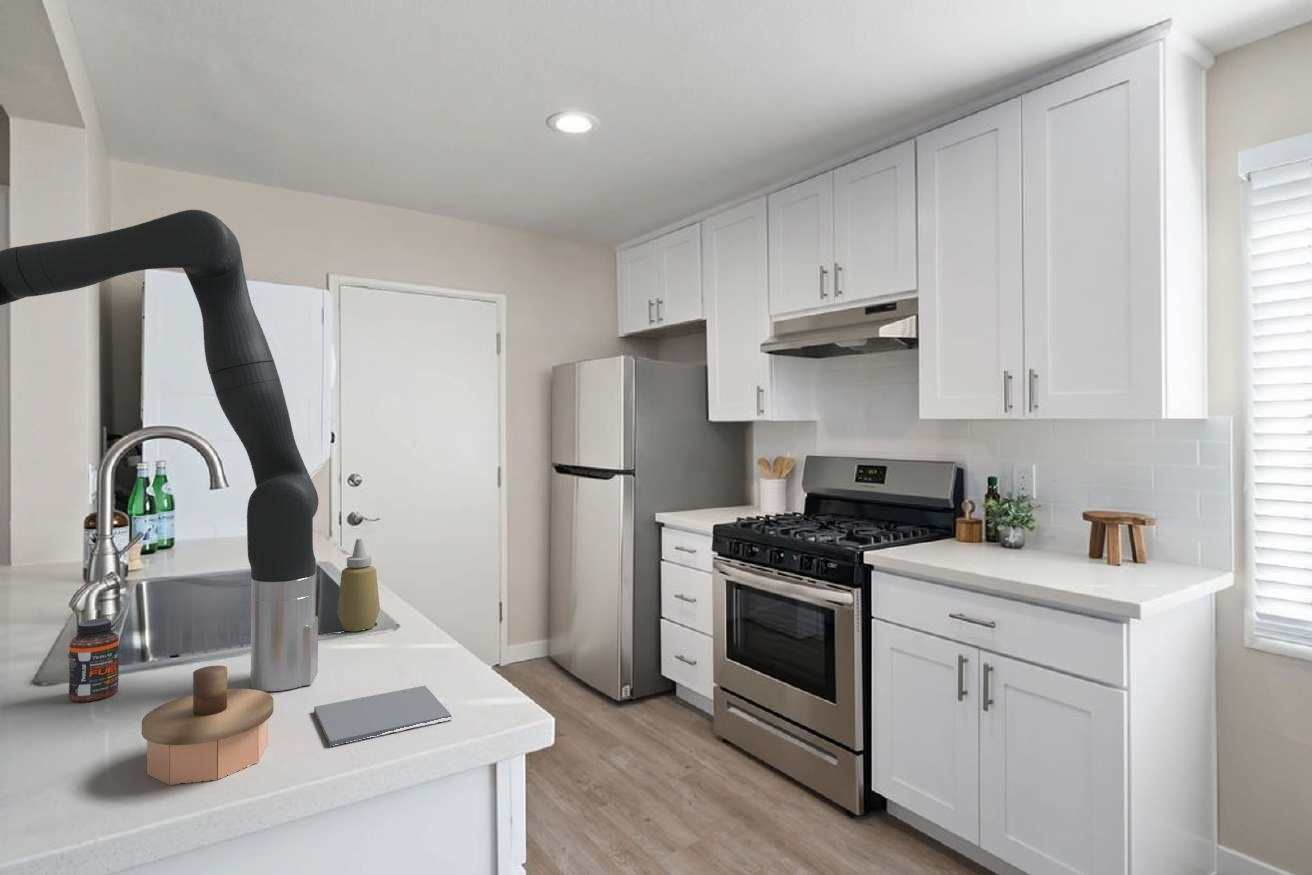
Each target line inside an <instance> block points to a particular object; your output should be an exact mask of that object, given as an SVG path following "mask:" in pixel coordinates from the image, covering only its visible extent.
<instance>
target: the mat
mask: <svg viewBox="0 0 1312 875" xmlns="http://www.w3.org/2000/svg"><path fill="white" fill-rule="evenodd" d="M313 708H314V709H313V713H314V712H315V713H314V715H315V714H316V715H315V718H318V719H317V721H319V722H318V723H320V724H319V726H320V725H321V726H320V728H321V727H322V728H321V730H322V729H323V730H322V732H323V731H324V733H323V735H324V734H325V735H324V737H325V736H326V737H325V739H326V738H327V739H326V741H327V740H328V742H327V744H328V743H329V744H328V746H329V745H330V746H333V745H335V744H342V743H346V742H350V741H354V740H359V739H363V738H367V737H370V736H377V735H380V734H382V733H385V732H388V731H394V730H396V729H400V728H404V727H409V726H413V725H416V724H420V723H427V722H430V721H434V720H438V719H441V718H448V717H451V718H452V714H451V713H450V711H448V709H447V708H446V707H445V706H444V705H443V703H441V702H440V700H439V699H438V698H437V697H436V696H435V695H434V694H433V692H431V690H430V689H429V688H428V687H427V686H426V685H420V686H414V687H410V688H406V689H405V688H404V689H400V690H393V691H388V692H385V693H379V694H372V695H369V696H363V697H358V698H353V699H348V700H342V701H338V702H332V703H331V702H330V703H326V704H321V705H317V706H313ZM330 746H329V747H330Z"/></svg>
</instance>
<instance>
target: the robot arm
mask: <svg viewBox="0 0 1312 875" xmlns="http://www.w3.org/2000/svg"><path fill="white" fill-rule="evenodd" d="M242 258H243V257H242V252H241V246H240V242H239V241H238V239H237V236H236V235H235V234H234V232H233V231H232V230H231V229H230V228H229V227H228V226H227V225H226V223H224V222H223V221H222V220H221V219H220V218H218V217H217V216H215V215H214V214H212V213H210V212H209V211H205V210H202V209H185V210H181V211H178V212H173V213H169V214H167V215H164V216H161V217H158V218H154V219H151V220H149V221H145V222H143V223H139V224H138V223H137V224H135V225H132V226H128V227H123V228H120V229H116V230H112V231H106V232H102V233H97V234H92V235H87V236H81V237H74V238H69V239H62V240H54V241H48V242H47V241H46V242H40V243H34V244H27V245H20V246H13V247H10V248H9V247H8V248H5V249H2V250H0V306H3V305H6V304H10V303H13V302H16V301H19V300H21V299H25V298H28V297H29V298H30V297H37V296H38V297H40V296H44V295H49V294H56V293H57V294H58V293H62V292H67V291H74V290H78V289H84V288H87V287H90V286H93V285H96V284H99V283H103V282H104V281H105V282H106V281H108V280H109V279H113V278H116V277H118V276H122V275H124V274H125V275H126V274H130V273H133V272H134V273H135V272H141V271H146V270H147V271H148V270H156V269H183V271H184V272H185V275H186V278H187V279H188V281H189V283H190V285H191V287H192V288H191V289H192V291H193V294H194V296H195V299H196V301H197V304H198V306H199V309H200V314H201V318H202V326H203V328H202V330H203V345H204V347H203V348H204V356H205V361H206V366H207V370H208V374H209V376H210V380H211V382H212V386H213V389H214V392H215V396H216V398H217V401H218V403H219V405H220V407H221V408H220V409H221V410H222V412H223V414H224V415H225V417H226V419H227V421H228V423H229V424H230V427H232V429H233V430H234V432H235V434H236V436H238V439H239V440H240V441H241V444H242V445H243V447H244V449H245V452H246V453H247V454H246V455H247V456H248V460H249V462H250V465H251V469H252V473H253V477H254V482H255V489H254V490H253V491H252V493H251V495H250V496H249V499H248V501H247V502H248V503H247V509H246V538H247V559H248V563H249V566H250V576H251V579H250V580H251V581H250V582H251V584H250V587H251V588H250V594H251V595H250V687H251V689H254V690H260V691H263V692H280V691H286V690H293V689H296V688H300V687H304V686H311V685H312V684H313V682H314V680H315V679H316V676H317V674H318V673H319V670H318V669H319V667H318V666H319V657H318V656H319V617H318V616H317V615H316V583H317V582H316V573H317V571H316V570H317V569H316V568H317V567H316V565H317V563H316V562H317V559H316V556H315V553H314V541H313V540H314V539H313V538H314V535H313V532H314V531H313V530H314V526H313V523H314V521H313V520H314V517H315V516H316V513H317V511H318V508H319V507H318V506H319V496H318V492H317V488H316V487H315V485H314V482H313V480H312V479H311V476H310V474H309V471H308V469H307V467H306V465H305V463H304V461H303V458H302V456H301V453H300V451H299V448H298V445H297V442H296V440H295V436H294V432H293V428H292V423H291V418H290V413H289V410H288V409H289V408H288V405H287V402H286V397H285V393H284V389H283V386H282V382H281V379H280V375H279V372H278V370H277V366H276V363H275V360H274V357H273V354H272V351H271V349H270V346H269V344H268V340H267V338H266V336H265V333H264V331H263V328H262V325H261V322H260V321H259V319H258V316H257V314H256V312H255V309H254V307H253V304H252V301H251V297H250V294H249V293H250V292H249V289H248V284H247V278H246V273H245V270H244V262H243V259H242Z"/></svg>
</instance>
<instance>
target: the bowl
mask: <svg viewBox="0 0 1312 875" xmlns="http://www.w3.org/2000/svg"><path fill="white" fill-rule="evenodd" d="M268 745H269V718H268V719H267V720H266V721H265V722H263V723H262V724H260V725H258V726H257V727H255V728H253V729H251V730H248V731H246V732H243V733H241V734H238V735H235V736H231V737H228V738H224V739H220V740H216V741H211V742H205V743H199V744H190V745H163V744H157V743H153V742H150V741H148V740H146V769H147V770H146V773H147V775H148V776H150V777H152V778H154V779H156V780H158V781H161V782H162V783H164V784H167V785H168V786H175V785H181V784H180V783H185V784H191V782H193V783H201V781H204V782H211V781H210V780H213V781H217V780H218V779H219V778H221V779H224V778H226V777H228V776H230V775H232V774H233V775H234V774H235V773H237V771H238V772H240V771H242V770H244V769H243V768H245V767H247V766H248V765H252V766H254V765H255V764H254V763H256V762H258V761H259V762H260V761H261V759H260V758H262V757H263V755H262V754H265V751H266V750H267V748H268ZM265 749H266V750H265ZM261 756H262V757H261ZM259 762H258V763H259ZM253 764H254V765H253ZM256 764H257V763H256ZM247 768H248V767H247ZM245 769H246V768H245ZM239 770H240V771H239ZM227 775H228V776H227ZM225 776H226V777H225ZM219 780H220V779H219Z"/></svg>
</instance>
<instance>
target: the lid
mask: <svg viewBox="0 0 1312 875" xmlns="http://www.w3.org/2000/svg"><path fill="white" fill-rule="evenodd" d="M192 678H193V679H192V685H193V686H192V688H193V690H192V691H193V693H192V694H190V695H186V696H182V697H179V698H176V699H173V700H171V701H169V702H165V703H163V704H160V705H159V706H157V707H155V708H153V709H152V710H151V711H149V712H148V713H147V714H145V716H144V717H143V718H142V720H141V736H142V738H143V739H144V740H146V741H147V740H148V741H150V742H153V743H157V744H163V745H190V744H199V743H205V742H211V741H216V740H220V739H224V738H228V737H231V736H235V735H238V734H241V733H243V732H246V731H248V730H251V729H253V728H255V727H257V726H258V725H260V724H262V723H263V722H265V721H266V720H267V719H268V720H269V719H270V718H271V716H272V715H273V713H274V697H273V696H272V695H271V694H270V693H268V692H267V691H260V690H256V689H253V688H228V668H227V666H225V665H209V666H203V667H200V668H197V669H196V670H194V671H193V673H192Z"/></svg>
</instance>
